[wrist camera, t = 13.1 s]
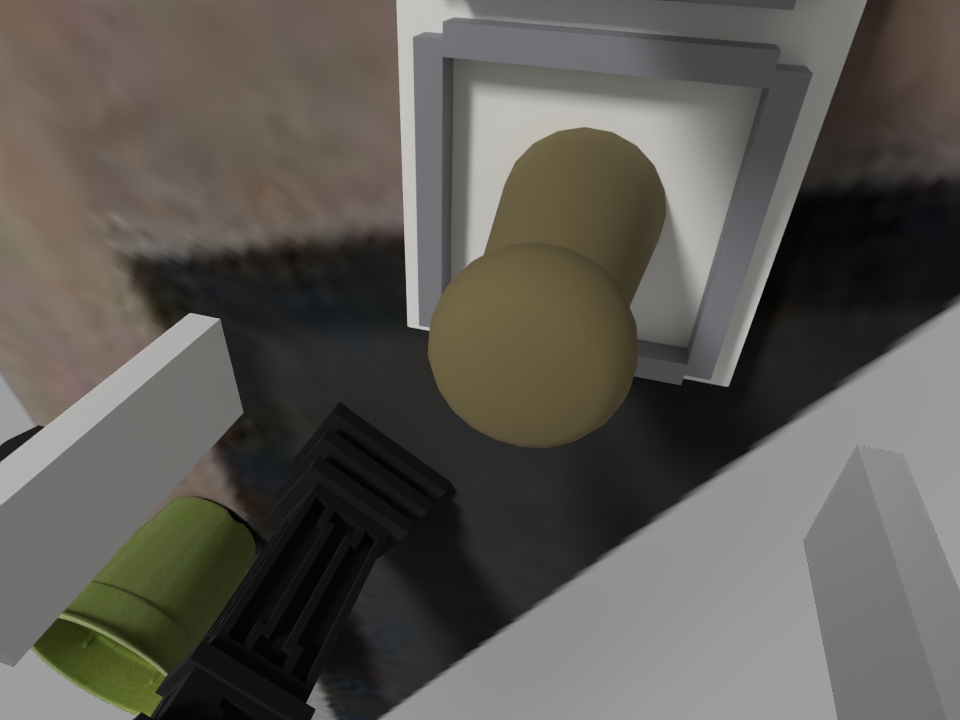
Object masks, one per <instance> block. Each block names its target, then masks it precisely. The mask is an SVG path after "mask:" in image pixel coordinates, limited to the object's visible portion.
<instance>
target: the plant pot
mask: <svg viewBox="0 0 960 720" xmlns="http://www.w3.org/2000/svg"><path fill="white" fill-rule="evenodd" d="M255 550H256V545H255V541H254V538H253V536H252V534H251V533H250V531H249V530H248V528H247V527H246V526H245V525H244V524H242V523H238V522H237V521H235V520H234V519H233V518H232V517H231V515H230V514H229V512H228V511H227V510H226V509H225V508H223V507H222V506H220V505H218V504H216V503H213V502H210V501H207V500H205V499H201V498H196V497H181V498H179V499H177V500H175V501H173V502H171V503H170V504H169V505H167V506H166V507H165V508H164V509H162V510H161V511H160V512H159V513H158V514H156V515H155V516H154V517H153V518H152V519H150V520H149V521H148V522H147V523H146V524H144V525H143V526H142V527H141V528H140V529H138V530H137V531H136V532H135V533H134V534H133V535H132V536H131V537H130V538H129V540H128V541H127V542H126V543H125V544H124V545H123V546H122V547H121V548H120V550H119V551H118V552H117V553H116V554H115V555H114V556H113V557H112V558H111V559H110V561H109V562H108V563H107V564H106V565H105V566H104V567H103V568H102V569H101V571H100V572H99V573H98V574H97V575H96V576H95V577H94V578H93V579H92V580H91V582H90V583H89V584H88V585H87V586H86V587H85V588H84V589H83V590H82V592H81V593H80V594H79V595H78V596H77V597H76V598H75V599H74V600H73V602H72V603H71V604H70V605H69V606H68V607H67V608H66V609H65V610H64V611H63V613H62V614H61V615H60V616H59V617H58V618H57V619H56V620H55V621H54V623H53V624H52V625H51V626H50V627H49V628H48V629H47V630H46V631H45V633H44V634H43V635H42V636H41V637H40V638H39V639H38V640H37V641H36V642H35V644H34V645H33V646H32V647H31V648H30V649H31V650H32V651H34V652H35V653H36V655H37V656H38V657H40V658H41V660H42V661H44V662H45V663H46V664H47V665H48V666H50V667H51V668H52V669H54V670H55V671H57V672H58V673H59V674H60V675H62V676H63V677H65V678H66V679H67V680H69V681H70V682H72V683H73V684H75V685H76V686H78V687H79V688H81V689H83V690H85V691H86V692H88V693H89V694H91V695H93V696H95V697H97V698H99V699H100V700H102V701H104V702H106V703H108V704H111V705H114V706H115V707H117V708H119V709H122V710H124V711H126V712H129V713H131V714H134V715H137V716H138V715H139V714H140V713H141V712H143V713H144V714H146V715H148V716H151V715H152V713H153V712H154V710H155V709H156V707H157V706H158V704H159V703H160V701H161V700H162V698H163V697H162V696H160V695H158V694H156V693H155V692H156V690H157V689H158V687H159V686H160V684H161V683H162V682H163V680H164V679H165V677H166V676H167V675H168V674H169V673H170V672H171V671H172V670H173V669H174V668H175V667H176V666H177V665H178V664H179V663H180V662H181V661H182V660H183V659H184V658H185V657H186V656H187V655H188V654H189V653H190V652H191V651H192V650H193V649H194V648H195V647H196V646H197V645H198V644H199V643H200V642H201V641H202V639H203V638H204V636H205V635H206V633H207V632H208V630H209V629H210V627H211V626H212V624H213V623H214V622H215V620H216V619H217V617H218V616H219V614H220V613H221V611H222V610H223V608H224V607H225V605H226V604H227V602H228V601H229V599H230V598H231V596H232V595H233V593H234V592H235V590H236V589H237V588H238V586H239V585H240V583H241V582H242V579H243V577H244V575H245V573H246V571H247V569H248V567H249V565H250V562H251V560H252V558H253V556H254V554H255Z"/></svg>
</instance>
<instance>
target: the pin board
mask: <svg viewBox="0 0 960 720" xmlns="http://www.w3.org/2000/svg"><path fill="white" fill-rule="evenodd" d="M866 2H867V0H397V30H398V59H399V88H400V117H401V146H402V175H403V205H404V234H405V263H406V292H407V321H408V327H412V328H418V329H423V330H428V331H429V329H430V324H431V318H432V315H433V313H434V311H435V309H436V306H437V304H438V302H439V300H440V298H441V296H442V294H443V292H444V290H445V289H446V287H447V286H448V285H449V283H450V282H451V281H452V280H453V279H454V278H455V277H456V276H457V275H458V274H459V273H460V272H461V271H462V270H463V269H464V268H465V267H467V266H468V265H469V264H470V263H471V262H472V261H474V260H476V259H477V258H479V257H481V256H483V255H484V252H485V248H486V245H487V242H488V238H489V235H490V232H491V228H492V225H493V222H494V218H495V215H496V212H497V208H498V205H499V201H500V198H501V195H502V191H503V188H504V185H505V182H506V180H507V178H508V176H509V174H510V172H511V170H512V168H513V166H514V164H515V162H516V161H517V160H518V159H519V158H520V157H521V156H522V155H523V154H524V152H525V151H526V150H527V149H528V148H529V147H530V146H531V145H532V144H533V143H535V142H537V141H539V140H541V139H543V138H545V137H547V136H549V135H551V134H553V133H555V132H557V131H561V130H568V129H575V128H582V127H587V128H593V129H598V130H604V131H609V132H613V133H615V134H617V135H619V136H620V137H622V138H624V139H626V140H628V141H629V142H631V143H633V144H635V145H637V146H638V148H639V149H640V150H641V151H642V152H643V153H644V154H645V155H646V157H647V158H648V159H649V160H650V161H651V162H652V163H653V164H654V166H655V168H656V170H657V173H658V175H659V177H660V180H661V182H662V185H663V187H664V190H665V206H666V218H665V221H664V224H663V228H662V231H661V234H660V238H659V241H658V243H657V245H656V248H655V250H654V252H653V254H652V257H651V259H650V261H649V264H648V266H647V268H646V271H645V273H644V275H643V277H642V280H641V282H640V284H639V287H638V289H637V291H636V293H635V296H634V298H633V300H632V303H631V305H630V309H631V312H632V314H633V316H634V319H635V321H636V327H637V339H638V364H637V368H636V371H635V374H634V376H635V377H640V378H646V379H651V380H656V381H661V382H667V383H672V384H677V385H681V384H682V381H683V379H689V380H694V381H699V382H704V383H710V384H715V385H720V386H726V387H729V384H730V381H731V378H732V376H733V373H734V370H735V367H736V364H737V362H738V359H739V356H740V353H741V351H742V348H743V345H744V342H745V339H746V337H747V334H748V331H749V328H750V325H751V323H752V320H753V317H754V314H755V311H756V309H757V306H758V303H759V300H760V298H761V295H762V292H763V289H764V286H765V284H766V281H767V278H768V275H769V272H770V270H771V267H772V264H773V261H774V259H775V256H776V253H777V250H778V247H779V245H780V242H781V239H782V236H783V233H784V231H785V228H786V225H787V222H788V219H789V217H790V214H791V211H792V208H793V206H794V203H795V200H796V197H797V194H798V192H799V189H800V186H801V183H802V180H803V178H804V175H805V172H806V169H807V166H808V164H809V161H810V158H811V155H812V153H813V150H814V147H815V144H816V141H817V139H818V136H819V133H820V130H821V127H822V125H823V122H824V119H825V116H826V113H827V111H828V108H829V105H830V102H831V100H832V97H833V94H834V91H835V88H836V86H837V83H838V80H839V77H840V74H841V72H842V69H843V66H844V63H845V60H846V58H847V55H848V52H849V49H850V47H851V44H852V41H853V38H854V35H855V33H856V30H857V27H858V24H859V21H860V19H861V16H862V13H863V10H864V7H865V5H866Z"/></svg>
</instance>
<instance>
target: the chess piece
mask: <svg viewBox="0 0 960 720" xmlns="http://www.w3.org/2000/svg"><path fill="white" fill-rule="evenodd" d="M280 477H281V478H283V479H284V480H286V481H285V482H284V483H283V484H282V485H281V487H280V488H279V489H278V491H277V492H276V494H275V495H274V496H275V497H277V498H278V499H280V501H279V502H278V503H277V505H276V506H275V507H274V508H273V510H272V511H271V513H270V514H269V515H268V517H269V518H271V519H272V520H274V521H275V522H277V523H278V524H280V525H279V527H278V528H277V530H276V531H275V533H274V534H273V536H272V537H271V539H270V540H269V542H268V543H267V545H266V546H265V548H264V549H263V551H262V552H261V554H260V555H259V556H258V558H257V559H256V561H255V562H254V564H253V565H252V567H251V568H250V570H249V571H248V573H247V574H246V576H245V577H244V579H243V580H242V582H241V583H240V585H239V586H238V588H237V589H236V590H235V592H234V593H233V595H232V596H231V598H230V599H229V601H228V602H227V604H226V605H225V607H224V608H223V610H222V611H221V613H220V614H219V616H218V617H217V619H216V620H215V622H214V623H213V624H212V626H211V627H210V629H209V630H208V632H207V633H206V635H205V636H204V638H203V639H202V641H201V642H200V643H199V644H198V645H197V646H196V647H195V648H194V649H193V650H192V651H191V652H190V653H189V654H188V655H187V656H186V657H185V658H184V659H183V660H182V661H181V662H180V663H179V664H178V665H177V666H176V667H175V668H174V669H173V670H172V671H171V672H170V673H169V674H168V675H167V676H166V677H165V679H164V680H163V682H162V683H161V684H160V686H159V687H158V689H157V690H156V692H155V693H156V694H158V695H160V696H162V697H163V698H162V700H161V701H160V703H159V704H158V706H157V707H156V709H155V710H154V712H153V713H152V715H151V716H148V715H146V714H144V713H143V712H141V713H140V714H139V715H138V716H137V717H136V718H134V719H133V720H311V718H312V716H313V714H314V712H315V710H316V709H314V708H313V707H311V706H309V705H308V704H306V702H307V700H308V698H309V696H310V694H311V692H312V690H313V688H314V686H315V683H316V681H317V679H318V677H319V675H320V673H321V671H322V669H323V667H324V665H325V663H326V661H327V659H328V657H329V655H330V653H331V651H332V649H333V647H334V645H335V642H336V640H337V638H338V636H339V634H340V632H341V630H342V628H343V626H344V624H345V622H346V620H347V618H348V616H349V614H350V612H351V610H352V608H353V606H354V604H355V602H356V599H357V597H358V595H359V593H360V591H361V589H362V587H363V585H364V583H365V581H366V579H367V577H368V575H369V573H370V571H371V569H372V567H373V565H374V563H375V561H376V559H378V558H379V557H380V556H381V555H383V554H384V553H385V552H386V551H387V550H389V549H390V548H391V547H392V546H394V545H395V544H396V543H397V542H399V541H400V540H401V539H402V538H404V537H405V536H406V535H407V534H409V532H410V529H411V527H412V525H413V524H414V523H416V522H417V521H418V520H419V519H420V518H422V517H423V516H424V515H425V514H427V513H428V511H429V509H430V507H431V505H432V504H433V503H434V502H435V501H436V500H438V499H439V498H440V497H441V496H443V495H444V494H445V493H446V492H447V489H448V487H449V485H450V482H449V481H447V480H446V479H445V478H443V477H442V476H441V475H439V474H438V473H436V472H435V471H434V470H432V469H431V468H430V467H428V466H427V465H425V464H424V463H423V462H421V461H420V460H418V459H417V458H416V457H414V456H413V455H412V454H410V453H409V452H407V451H406V450H405V449H403V448H402V447H400V446H399V445H398V444H396V443H395V442H394V441H392V440H391V439H389V438H388V437H387V436H385V435H384V434H382V433H381V432H380V431H378V430H377V429H376V428H374V427H373V426H371V425H370V424H369V423H367V422H366V421H365V420H363V419H362V418H360V417H359V416H358V415H356V414H355V413H353V412H352V411H351V410H349V409H348V408H347V407H345V406H344V405H342V404H341V403H340V402H339V404H338V405H337V406H336V407H335V408H334V410H333V411H332V412H331V413H330V415H329V416H328V417H327V418H326V419H325V421H324V422H323V423H322V424H321V426H320V427H319V428H318V429H317V431H316V432H315V433H314V434H313V435H312V437H311V438H310V439H309V440H308V442H307V443H306V444H305V445H304V446H303V448H302V449H301V450H300V451H299V453H298V454H297V455H296V456H295V457H294V459H293V460H292V461H291V462H290V464H289V465H288V466H287V467H286V469H285V470H284V471H283V473H282V474H281V475H280Z"/></svg>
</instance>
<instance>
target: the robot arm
mask: <svg viewBox="0 0 960 720" xmlns="http://www.w3.org/2000/svg"><path fill="white" fill-rule="evenodd" d="M242 413H243V409H242V405H241V401H240V397H239V393H238V389H237V385H236V381H235V377H234V373H233V369H232V365H231V361H230V357H229V353H228V349H227V345H226V341H225V337H224V333H223V329H222V325H221V321H220V319H218V318H213V317H207V316H202V315H197V314H192V313H189V314H188V315H187V316H186V317H184V318H183V319H182V320H180V321H179V322H178V323H177V324H175V325H174V326H173V327H172V328H170V329H169V330H168V331H166V332H165V333H164V334H163V335H161V336H160V337H159V338H158V339H156V340H155V341H154V342H152V343H151V344H150V345H149V346H147V347H146V348H145V349H144V350H142V351H141V352H140V353H138V354H137V355H136V356H135V357H133V358H132V359H131V360H130V361H128V362H127V363H126V364H125V365H123V366H122V367H121V368H119V369H118V370H117V371H116V372H114V373H113V374H112V375H111V376H109V377H108V378H107V379H105V380H104V381H103V382H102V383H100V384H99V385H98V386H97V387H95V388H94V389H93V390H91V391H90V392H89V393H88V394H86V395H85V396H84V397H83V398H81V399H80V400H79V401H77V402H76V403H75V404H74V405H72V406H71V407H70V408H69V409H67V410H66V411H65V412H64V413H62V414H61V415H60V416H58V417H57V418H56V419H55V420H53V421H52V422H51V423H50V424H48V425H47V426H46V427H43V426H39V425H38V426H36V427H34V428H32V429H30V430H28V431H26V432H24V433H22V434H20V435H18V436H16V437H14V438H12V439H9V440H7V441H6V442H4V443H3V444H2V445H1V446H0V662H1V663H4V664H7V665H10V666H13V667H14V666H15V665H16V663H17V662H18V661H19V660H20V659H21V658H22V657H23V656H24V655H25V654H26V652H27V651H28V650H29V649H30V648H31V647H32V646H33V645H34V644H35V642H36V641H37V640H38V639H39V638H40V637H41V636H42V635H43V634H44V633H45V631H46V630H47V629H48V628H49V627H50V626H51V625H52V624H53V623H54V621H55V620H56V619H57V618H58V617H59V616H60V615H61V614H62V613H63V611H64V610H65V609H66V608H67V607H68V606H69V605H70V604H71V603H72V602H73V600H74V599H75V598H76V597H77V596H78V595H79V594H80V593H81V592H82V590H83V589H84V588H85V587H86V586H87V585H88V584H89V583H90V582H91V580H92V579H93V578H94V577H95V576H96V575H97V574H98V573H99V572H100V571H101V569H102V568H103V567H104V566H105V565H106V564H107V563H108V562H109V561H110V559H111V558H112V557H113V556H114V555H115V554H116V553H117V552H118V551H119V550H120V548H121V547H122V546H123V545H124V544H125V543H126V542H127V541H128V540H129V538H130V537H131V536H132V535H133V534H134V533H135V532H136V531H137V530H138V528H139V527H140V526H141V525H142V524H143V523H144V522H145V521H146V520H147V519H148V517H149V516H150V515H151V514H152V513H153V512H154V511H155V510H156V509H157V507H158V506H159V505H160V504H161V503H162V502H163V501H164V500H165V499H166V497H167V496H168V495H169V494H170V493H171V492H172V491H173V490H174V489H175V488H176V486H177V485H178V484H179V483H180V482H181V481H182V480H183V479H184V478H185V476H186V475H187V474H188V473H189V472H190V471H191V470H192V469H193V468H194V467H195V465H196V464H197V463H198V462H199V461H200V460H201V459H202V458H203V457H204V455H205V454H206V453H207V452H208V451H209V450H210V449H211V448H212V447H213V445H214V444H215V443H216V442H217V441H218V440H219V439H220V438H221V437H222V436H223V434H224V433H225V432H226V431H227V430H228V429H229V428H230V427H231V426H232V424H233V423H234V422H235V421H236V420H237V419H238V418H239V417H240V416H241V414H242ZM804 545H805V551H806V556H807V561H808V565H809V571H810V576H811V582H812V587H813V592H814V597H815V603H816V608H817V613H818V619H819V623H820V629H821V634H822V639H823V645H824V650H825V655H826V660H827V666H828V671H829V676H830V681H831V686H832V692H833V697H834V702H835V707H836V712H837V717H838V720H960V591H959V589H958V586H957V584H956V581H955V579H954V577H953V575H952V572H951V569H950V567H949V565H948V562H947V560H946V557H945V555H944V552H943V550H942V547H941V545H940V543H939V540H938V538H937V535H936V533H935V530H934V528H933V525H932V523H931V520H930V518H929V516H928V513H927V511H926V509H925V506H924V503H923V501H922V499H921V496H920V494H919V491H918V489H917V487H916V484H915V481H914V479H913V477H912V474H911V472H910V469H909V467H908V464H907V462H906V460H905V457H904V455H903V454H900V453H895V452H890V451H884V450H880V449H874V448H870V447H864V446H860V445H857V446H856V448H855V450H854V452H853V453H852V455H851V457H850V459H849V460H848V462H847V464H846V466H845V468H844V469H843V471H842V473H841V475H840V477H839V478H838V480H837V482H836V484H835V486H834V487H833V489H832V491H831V493H830V495H829V496H828V498H827V500H826V502H825V503H824V505H823V507H822V509H821V511H820V512H819V514H818V516H817V518H816V520H815V522H814V523H813V525H812V527H811V529H810V530H809V532H808V534H807V536H806V537H805V539H804Z"/></svg>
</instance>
